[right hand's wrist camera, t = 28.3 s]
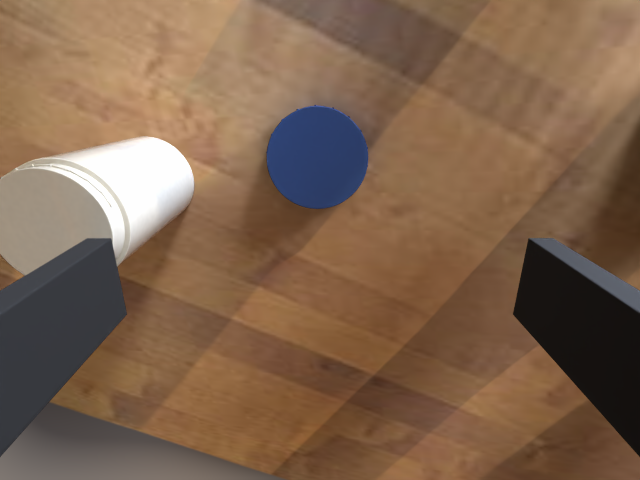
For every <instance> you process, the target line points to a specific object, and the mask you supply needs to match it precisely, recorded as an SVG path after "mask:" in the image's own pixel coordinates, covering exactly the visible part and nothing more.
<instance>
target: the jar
mask: <svg viewBox="0 0 640 480" xmlns="http://www.w3.org/2000/svg"><path fill="white" fill-rule="evenodd" d="M193 192H194V179H193V174H192V171H191V168H190V166H189V164H188V162H187V161H186V159H185V158H184V156H183V155H182V154H181V153H180V152H179V151H178V150H177V149H176V148H175V147H173V146H172V145H170V144H169V143H167V142H165V141H163V140H160V139H157V138H153V137H135V138H131V139H126V140H121V141H117V142H112V143H108V144H103V145H99V146H94V147H89V148H85V149H80V150H76V151H71V152H67V153H62V154H57V155H53V156H48V157H44V158H39V159H35V160H32V161H29V162H26V163H24V164H22V165H20V166H19V167H18V168H15V169H14V170H12V171H11V172H9V173H7V174H6V175H4V176H3V177H1V178H0V254H1V256H2V257H3V258H4V259H5V260H6V261H7V262H8V263H9V264H10V265H11V266H12V267H14V268H15V269H16V270H18V271H19V272H20V273H22V274H23V275H24V276H25V275H27V274H29V273H30V272H32V271H34V270H35V269H37V268H39V267H40V266H42V265H44V264H45V263H47V262H49V261H50V260H52V259H54V258H55V257H57V256H59V255H60V254H62V253H63V252H65V251H67V250H68V249H70V248H72V247H73V246H75V245H77V244H78V243H80V242H82V241H83V240H85V239H87V238H111V239H112V244H113V249H114V254H115V258H116V263H117V267H118V266H119V265H120V264H121V263H123V262H124V261H125V260H126V259H127V258H129V257H130V256H131V255H132V254H133V253H134V252H136V251H137V250H138V249H139V248H140V247H142V246H143V245H144V244H145V243H146V242H148V241H149V240H150V239H151V238H152V237H154V236H155V235H156V234H157V233H158V232H160V231H161V230H162V229H163V228H164V227H166V226H167V225H168V224H169V223H170V222H172V221H173V220H174V219H175V218H176V217H177V216H179V215H180V214H181V213H182V212H183V211H184V210H185V209H186V208H187V207H188V205H189V204H190V202H191V199H192V196H193Z"/></svg>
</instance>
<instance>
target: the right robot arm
mask: <svg viewBox="0 0 640 480" xmlns="http://www.w3.org/2000/svg"><path fill="white" fill-rule="evenodd" d="M126 315H127V312H126V307H125V303H124V298H123V293H122V288H121V283H120V278H119V273H118V268H117V263H116V258H115V254H114V249H113V244H112V239H111V238H87V239H85V240H83V241H82V242H80V243H78V244H77V245H75V246H73V247H72V248H70V249H68V250H67V251H65V252H63V253H62V254H60V255H59V256H57V257H55V258H54V259H52V260H50V261H49V262H47V263H45V264H44V265H42V266H40V267H39V268H37V269H35V270H34V271H32V272H30V273H29V274H27V275H25V276H24V277H22V278H21V279H19V280H17V281H16V282H14V283H12V284H11V285H9V286H7V287H6V288H4V289H2V290H1V291H0V457H1V455H2V454H3V453H4V452H5V451H6V450H7V449H8V447H9V446H10V445H11V444H12V443H13V442H14V441H15V440H16V439H17V437H18V436H19V435H20V434H21V433H22V432H23V431H24V429H25V428H26V427H27V426H28V425H29V424H30V423H31V422H32V421H33V419H34V418H35V417H36V416H37V415H38V414H39V413H40V411H41V410H42V409H43V408H44V407H45V406H46V405H47V404H48V403H49V401H50V400H51V399H52V398H53V397H54V396H55V395H56V394H57V392H58V391H59V390H60V389H61V388H62V387H63V386H64V385H65V383H66V382H67V381H68V380H69V379H70V378H71V377H72V376H73V374H74V373H75V372H76V371H77V370H78V369H79V368H80V367H81V365H82V364H83V363H84V362H85V361H86V360H87V359H88V358H89V356H90V355H91V354H92V353H93V352H94V351H95V350H96V349H97V347H98V346H99V345H100V344H101V343H102V342H103V341H104V340H105V338H106V337H107V336H108V335H109V334H110V333H111V332H112V331H113V329H114V328H115V327H116V326H117V325H118V324H119V323H120V322H121V320H122V319H123V318H124V317H125V316H126ZM513 315H514V316H515V317H516V318H517V319H518V320H519V322H520V323H521V324H522V325H523V326H524V327H525V328H526V329H527V331H528V332H529V333H530V334H531V335H532V336H533V337H534V338H535V340H536V341H537V342H538V343H539V344H540V345H541V346H542V347H543V349H544V350H545V351H546V352H547V353H548V354H549V355H550V356H551V358H552V359H553V360H554V361H555V362H556V363H557V364H558V365H559V367H560V368H561V369H562V370H563V371H564V372H565V373H566V374H567V376H568V377H569V378H570V379H571V380H572V381H573V382H574V383H575V385H576V386H577V387H578V388H579V389H580V390H581V391H582V392H583V394H584V395H585V396H586V397H587V398H588V399H589V400H590V401H591V403H592V404H593V405H594V406H595V407H596V408H597V409H598V410H599V412H600V413H601V414H602V415H603V416H604V417H605V418H606V419H607V421H608V422H609V423H610V424H611V425H612V426H613V427H614V428H615V430H616V431H617V432H618V433H619V434H620V435H621V436H622V437H623V439H624V440H625V441H626V442H627V443H628V444H629V445H630V446H631V448H632V449H633V450H634V451H635V452H636V453H637V454H638V455H639V457H640V291H639V290H638V289H636V288H634V287H633V286H631V285H629V284H628V283H626V282H624V281H623V280H621V279H619V278H618V277H616V276H615V275H613V274H611V273H610V272H608V271H606V270H605V269H603V268H601V267H600V266H598V265H596V264H595V263H593V262H591V261H590V260H588V259H586V258H585V257H583V256H581V255H580V254H578V253H577V252H575V251H573V250H572V249H570V248H568V247H567V246H565V245H563V244H562V243H560V242H558V241H557V240H555V239H553V238H529V239H528V244H527V249H526V254H525V258H524V263H523V268H522V273H521V278H520V283H519V288H518V293H517V298H516V303H515V307H514V312H513Z"/></svg>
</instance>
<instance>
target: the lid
mask: <svg viewBox="0 0 640 480" xmlns="http://www.w3.org/2000/svg"><path fill="white" fill-rule="evenodd" d="M367 149H368V147H367V145H366V142H365V139H364V137H363V134H362V131H361V130H360V129H359V128H358V126H357V125H356V124H355V123H354V122H353V121H352V120H351V119H350V117H349V116H346V115H345V114H343V113H342V112H340V111H338V110H336V109H334V108H333V107H332V108H330V107H325V106H316V105H314V106H310V107H305V108H302V109H297V111H295V112H293V113H291V114H290V115H288V116H287V117H286V118H284V119H282V121H281V122H280V123H279V125H278V126H277V127H276V129H275V130H274V132H273V134H271V138H270V141H269V144H268V149H267V167H268V171H269V174H270V177H271V179H272V181H273V183H274V185H275V186H276V188H277V189H278V190H279V191H280V192H281V194H282V195H283V196H285V197H286V198H287V199H288V200H290V201H292V202H293V203H295V204H297V205H300V206H303V207H307V208H313V209H322V208H329V207H332V206H335V205H338V204H340V203H342V202H343V201H345V200H347V199H348V198H349V197H350V196H351V195H353V193H354V192H355V191H356V190H357V189H358V187H359V186H360V185H361V183H362V181H363V179H364V176H365V174H366V170H367V167H368V150H367Z"/></svg>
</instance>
